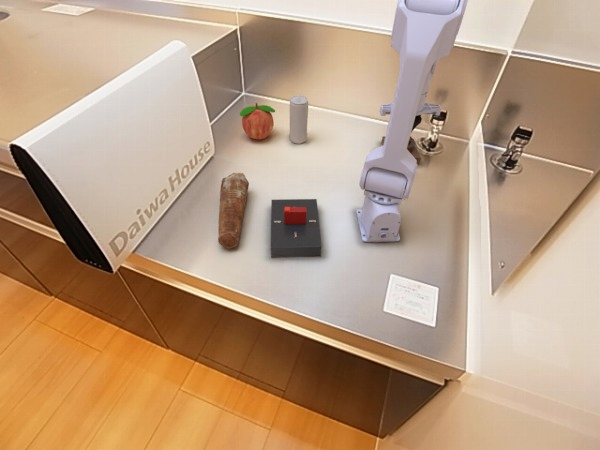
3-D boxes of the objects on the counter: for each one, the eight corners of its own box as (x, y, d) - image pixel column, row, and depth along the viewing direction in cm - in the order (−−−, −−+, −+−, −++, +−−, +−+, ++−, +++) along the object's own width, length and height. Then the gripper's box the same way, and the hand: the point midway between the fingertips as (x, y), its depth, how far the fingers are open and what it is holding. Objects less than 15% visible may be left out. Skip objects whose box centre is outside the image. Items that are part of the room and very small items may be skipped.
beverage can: (286, 141, 102) (286, 101, 94) (294, 133, 105) (295, 93, 97) (302, 146, 101) (303, 105, 92) (309, 137, 104) (311, 97, 95)
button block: (418, 164, 96) (422, 151, 93) (388, 165, 96) (391, 152, 93) (409, 143, 103) (412, 130, 100) (381, 143, 103) (383, 130, 100)
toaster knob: (305, 219, 77) (306, 206, 75) (306, 223, 76) (306, 210, 74) (284, 219, 77) (284, 206, 74) (284, 224, 76) (284, 211, 74)
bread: (250, 190, 88) (248, 171, 84) (241, 251, 75) (238, 233, 71) (223, 189, 88) (220, 170, 84) (210, 251, 75) (205, 232, 71)
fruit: (242, 128, 107) (238, 95, 99) (275, 127, 108) (274, 94, 100) (242, 145, 101) (238, 112, 94) (277, 143, 102) (276, 110, 94)
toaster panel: (320, 256, 74) (321, 246, 72) (271, 257, 74) (270, 247, 72) (315, 208, 84) (316, 198, 82) (272, 209, 84) (271, 198, 81)
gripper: (440, 81, 89) (426, 130, 99) (381, 81, 89) (372, 130, 99) (450, 95, 85) (433, 145, 94) (387, 95, 84) (377, 146, 94)
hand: (402, 139), depth 96 cm, fingers closed, pressing on button
